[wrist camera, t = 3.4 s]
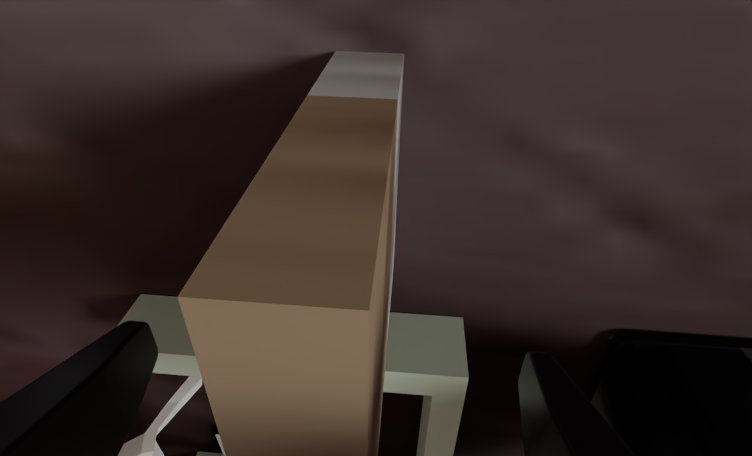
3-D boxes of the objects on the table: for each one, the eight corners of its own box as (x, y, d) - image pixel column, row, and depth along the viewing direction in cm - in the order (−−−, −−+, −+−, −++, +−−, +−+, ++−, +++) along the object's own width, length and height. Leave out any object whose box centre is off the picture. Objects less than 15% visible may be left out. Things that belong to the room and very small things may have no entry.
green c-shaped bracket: (140, 294, 20) (100, 348, 17) (462, 317, 19) (468, 377, 16) (201, 462, 27) (179, 517, 25) (433, 484, 26) (435, 543, 24)
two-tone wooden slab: (335, 51, 13) (177, 297, 5) (404, 53, 13) (369, 310, 5) (342, 265, 18) (267, 590, 9) (393, 268, 18) (365, 601, 9)
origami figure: (260, 475, 28) (232, 570, 24) (121, 448, 27) (69, 540, 23) (278, 345, 21) (244, 447, 17) (94, 306, 21) (14, 402, 17)
